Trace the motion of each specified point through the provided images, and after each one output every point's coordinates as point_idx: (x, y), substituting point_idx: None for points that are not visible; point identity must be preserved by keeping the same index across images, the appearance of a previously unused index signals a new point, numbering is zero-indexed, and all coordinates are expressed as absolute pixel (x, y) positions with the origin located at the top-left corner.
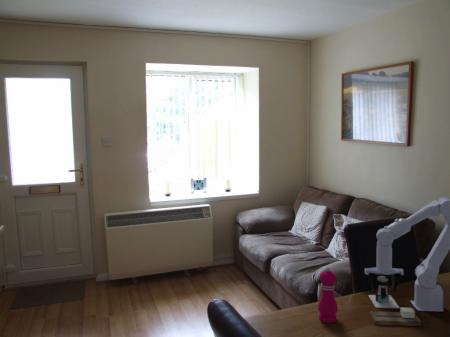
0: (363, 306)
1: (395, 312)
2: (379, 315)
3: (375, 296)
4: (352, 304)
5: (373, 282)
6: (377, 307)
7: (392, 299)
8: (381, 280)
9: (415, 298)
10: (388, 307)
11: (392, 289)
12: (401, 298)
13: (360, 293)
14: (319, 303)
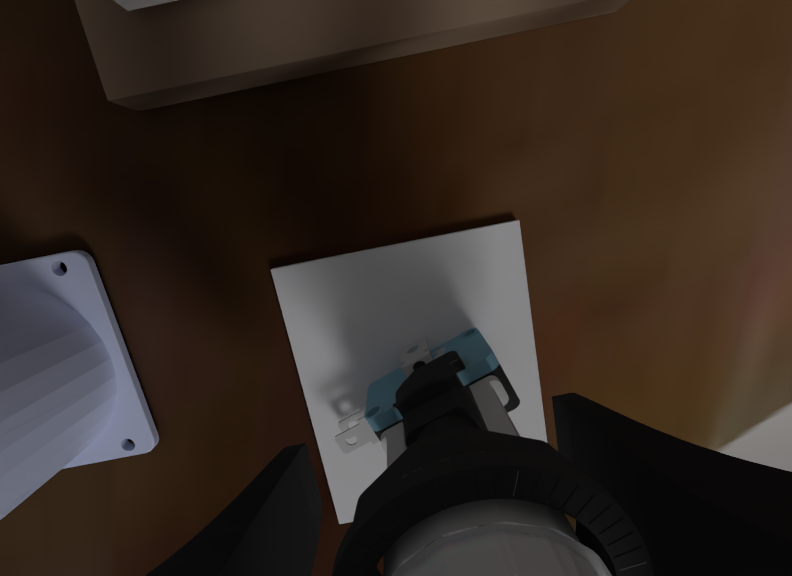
0: (638, 223)
1: (323, 40)
2: None
3: None
4: (746, 242)
5: (712, 469)
6: (499, 224)
7: (328, 442)
8: (552, 545)
9: (41, 387)
10: (385, 246)
11: (310, 497)
12: None
13: None
14: None
